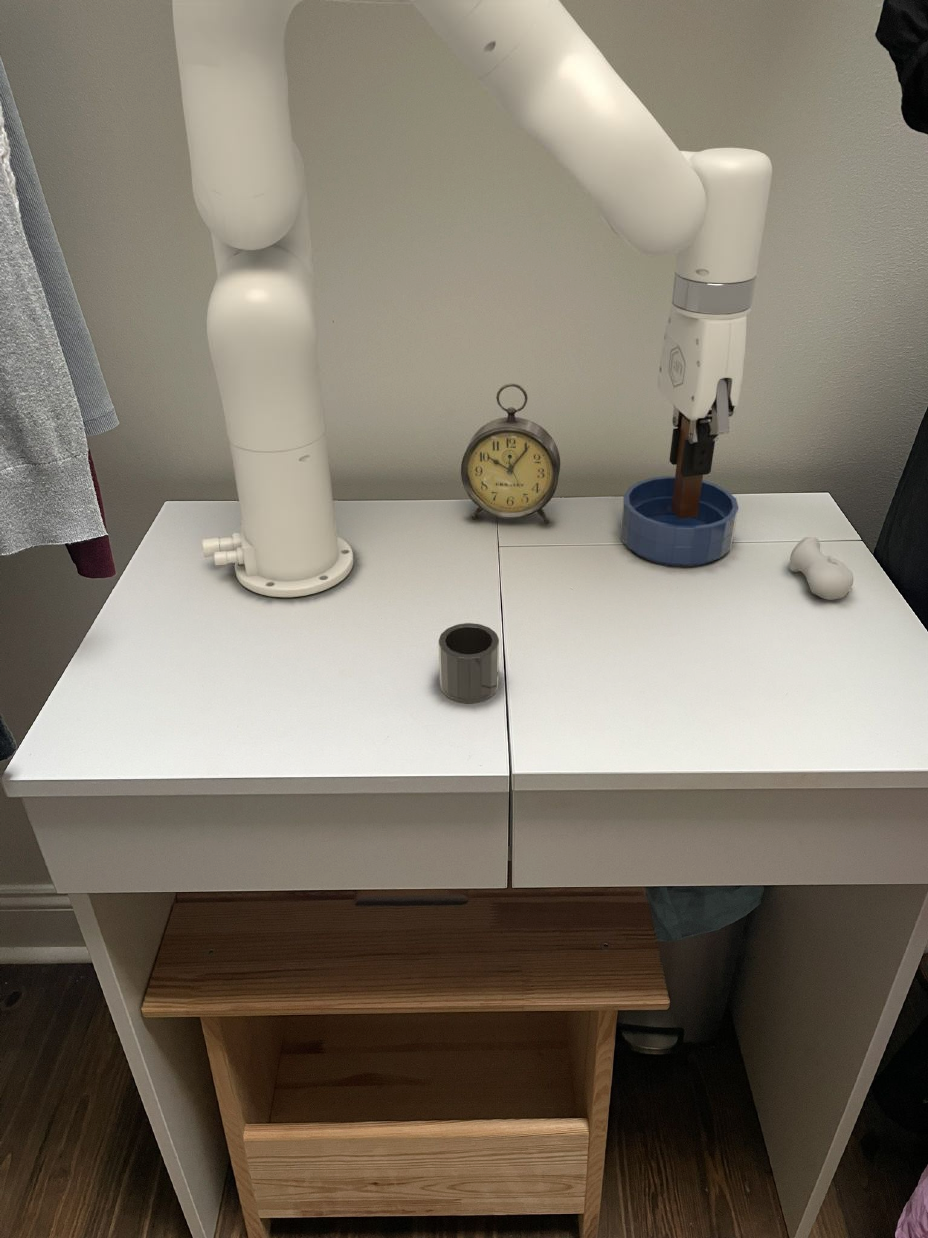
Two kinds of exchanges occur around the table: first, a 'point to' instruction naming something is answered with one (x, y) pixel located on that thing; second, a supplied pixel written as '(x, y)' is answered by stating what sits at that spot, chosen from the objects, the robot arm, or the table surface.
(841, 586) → the smooth white sculpture
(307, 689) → the table surface
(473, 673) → the crock
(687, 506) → the stick
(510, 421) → the alarm clock
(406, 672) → the table surface
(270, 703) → the table surface
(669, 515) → the bowl
